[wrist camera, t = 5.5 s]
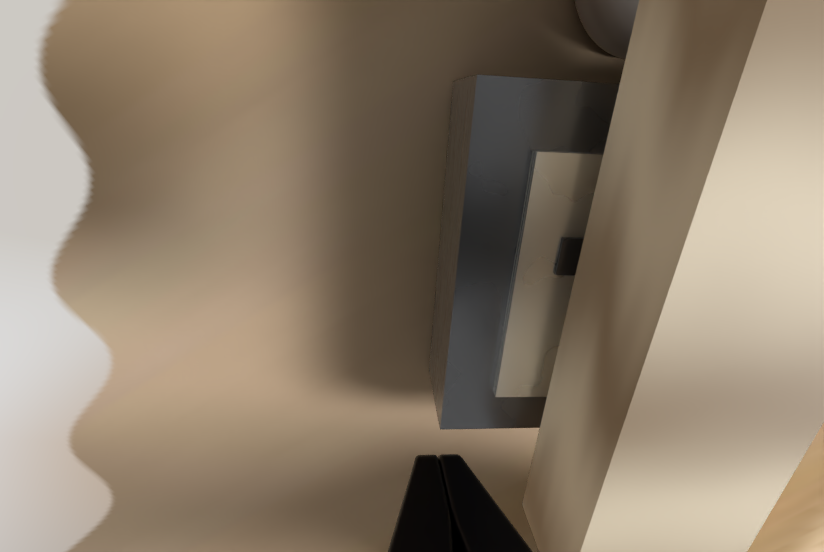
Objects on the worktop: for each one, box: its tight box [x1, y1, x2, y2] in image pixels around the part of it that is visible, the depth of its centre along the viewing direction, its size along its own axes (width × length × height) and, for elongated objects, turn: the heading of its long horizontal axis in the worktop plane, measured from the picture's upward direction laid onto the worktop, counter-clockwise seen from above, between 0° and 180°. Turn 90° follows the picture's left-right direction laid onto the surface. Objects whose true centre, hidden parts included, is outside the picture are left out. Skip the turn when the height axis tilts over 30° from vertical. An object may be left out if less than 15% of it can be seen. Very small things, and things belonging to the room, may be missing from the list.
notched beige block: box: [522, 0, 824, 552], centre depth 10 cm, size 18×4×6 cm, turn 177°
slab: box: [429, 75, 620, 429], centre depth 13 cm, size 10×20×3 cm, turn 87°
